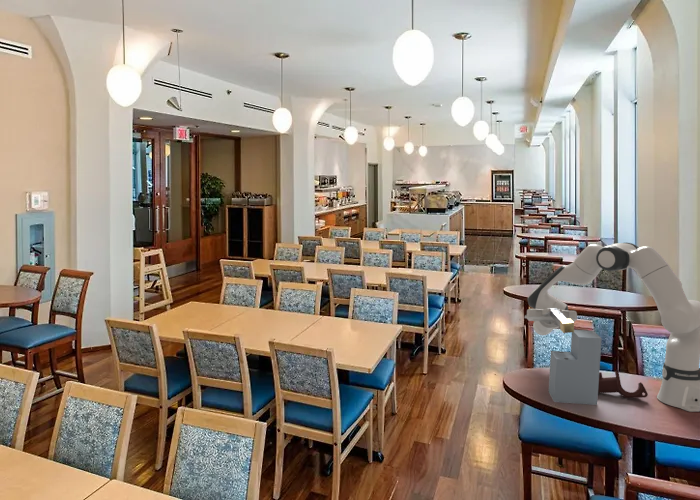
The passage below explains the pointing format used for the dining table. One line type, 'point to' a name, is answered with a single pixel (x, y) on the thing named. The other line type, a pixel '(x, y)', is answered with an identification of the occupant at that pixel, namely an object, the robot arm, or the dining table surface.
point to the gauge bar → (562, 321)
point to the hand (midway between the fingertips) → (554, 310)
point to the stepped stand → (576, 370)
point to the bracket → (619, 387)
